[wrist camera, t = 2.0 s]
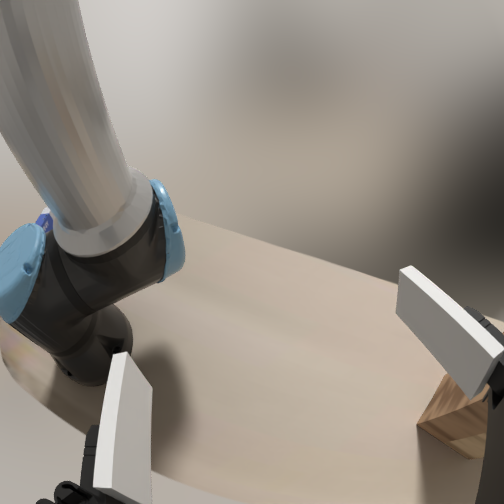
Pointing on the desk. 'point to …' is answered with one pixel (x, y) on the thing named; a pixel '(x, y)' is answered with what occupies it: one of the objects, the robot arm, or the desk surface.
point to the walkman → (46, 220)
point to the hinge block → (457, 419)
